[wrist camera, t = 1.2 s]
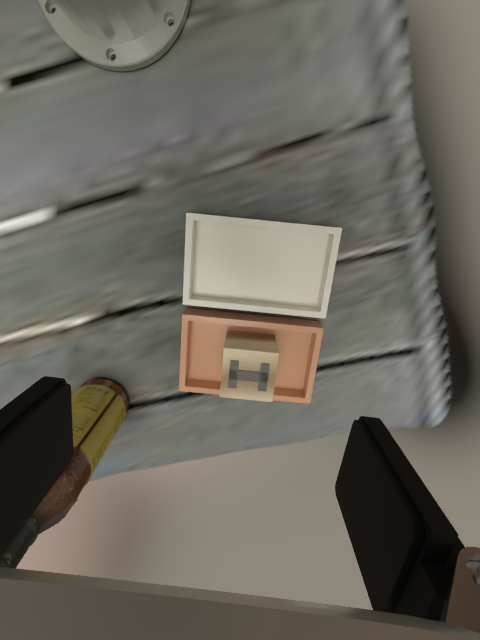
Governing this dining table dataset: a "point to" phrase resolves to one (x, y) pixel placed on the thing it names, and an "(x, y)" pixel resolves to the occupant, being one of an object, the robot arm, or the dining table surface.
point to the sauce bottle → (75, 459)
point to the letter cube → (249, 366)
